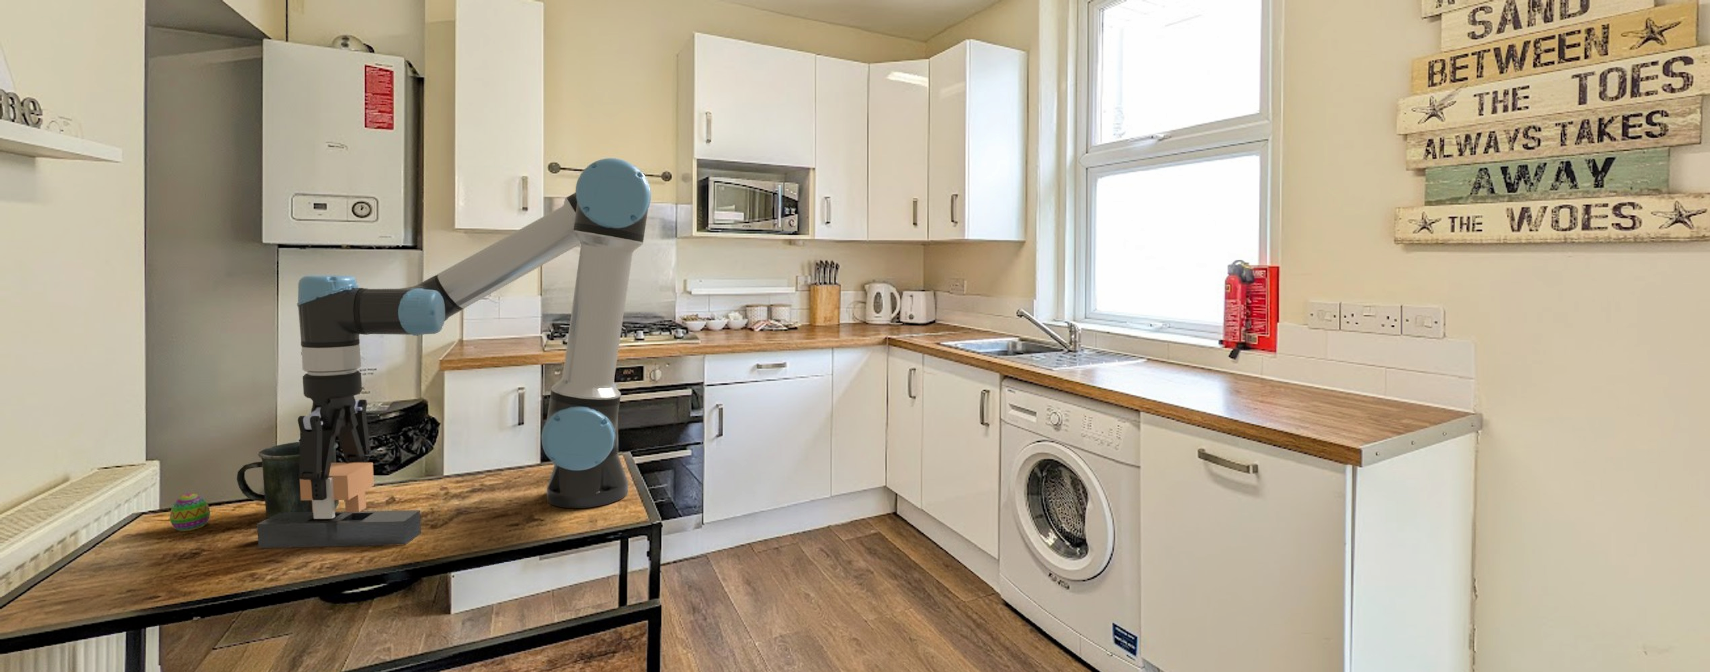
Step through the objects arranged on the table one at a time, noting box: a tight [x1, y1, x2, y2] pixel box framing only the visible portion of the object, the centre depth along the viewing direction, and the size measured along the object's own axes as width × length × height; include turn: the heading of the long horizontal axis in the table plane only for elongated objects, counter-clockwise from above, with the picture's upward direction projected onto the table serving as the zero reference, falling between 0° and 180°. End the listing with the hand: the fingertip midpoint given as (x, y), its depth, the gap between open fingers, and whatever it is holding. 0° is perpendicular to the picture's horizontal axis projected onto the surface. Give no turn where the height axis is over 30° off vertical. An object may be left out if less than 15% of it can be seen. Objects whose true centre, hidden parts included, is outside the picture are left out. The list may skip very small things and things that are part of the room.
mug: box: [236, 441, 340, 519], centre depth 124 cm, size 11×15×12 cm
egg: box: [169, 493, 211, 532], centre depth 117 cm, size 5×5×6 cm
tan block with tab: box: [300, 462, 375, 512], centre depth 112 cm, size 7×7×7 cm
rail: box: [256, 509, 422, 549], centre depth 113 cm, size 22×5×4 cm, turn 97°
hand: (339, 508), depth 113 cm, fingers closed on tan block with tab, 7 cm apart
